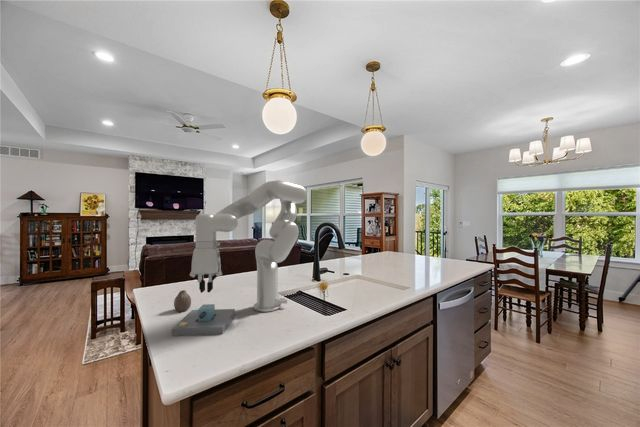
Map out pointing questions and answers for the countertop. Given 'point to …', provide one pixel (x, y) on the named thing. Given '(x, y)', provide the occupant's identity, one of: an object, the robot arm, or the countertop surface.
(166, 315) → the countertop surface
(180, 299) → the brown egg-shaped lump
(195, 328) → the socket plate
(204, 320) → the plug
